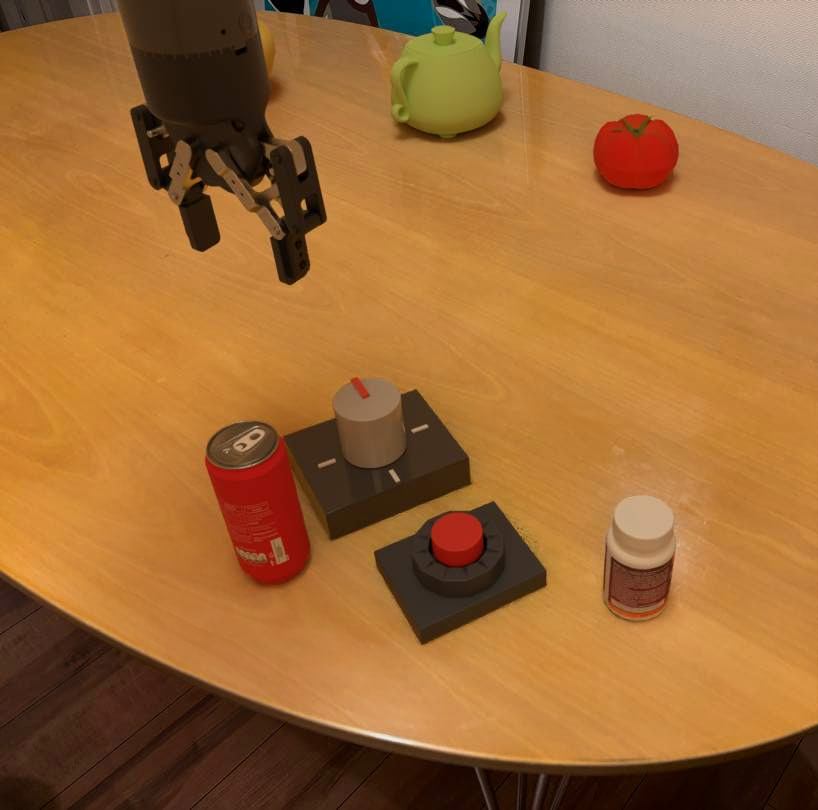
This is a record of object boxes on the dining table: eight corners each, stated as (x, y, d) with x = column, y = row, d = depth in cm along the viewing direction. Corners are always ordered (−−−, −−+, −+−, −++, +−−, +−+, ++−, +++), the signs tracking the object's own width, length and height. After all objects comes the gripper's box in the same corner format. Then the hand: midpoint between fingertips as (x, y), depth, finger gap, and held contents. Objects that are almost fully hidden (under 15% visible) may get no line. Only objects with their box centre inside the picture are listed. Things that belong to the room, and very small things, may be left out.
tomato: (623, 154, 120) (627, 100, 115) (691, 179, 114) (698, 122, 109) (573, 181, 113) (575, 125, 109) (642, 208, 108) (647, 150, 103)
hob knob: (417, 453, 70) (411, 403, 67) (356, 477, 68) (346, 426, 65) (391, 416, 74) (384, 366, 70) (332, 438, 72) (321, 387, 68)
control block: (421, 645, 60) (417, 614, 58) (376, 566, 66) (370, 534, 63) (547, 585, 64) (547, 554, 62) (494, 515, 70) (493, 483, 67)
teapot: (475, 85, 138) (471, -3, 130) (544, 112, 131) (545, 19, 122) (362, 127, 126) (350, 32, 118) (432, 158, 118) (423, 59, 110)
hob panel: (331, 541, 67) (324, 512, 65) (288, 462, 74) (281, 434, 72) (471, 483, 72) (469, 455, 70) (419, 414, 79) (416, 387, 77)
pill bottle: (680, 609, 63) (694, 530, 57) (620, 631, 61) (628, 552, 56) (648, 561, 66) (658, 482, 61) (591, 581, 65) (595, 501, 59)
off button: (446, 575, 61) (444, 558, 60) (424, 540, 63) (422, 524, 62) (492, 554, 62) (491, 538, 61) (469, 521, 65) (468, 505, 64)
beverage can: (226, 568, 65) (184, 450, 58) (279, 524, 69) (246, 407, 61) (275, 600, 63) (238, 482, 55) (327, 554, 66) (299, 436, 59)
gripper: (61, 24, 53) (139, 259, 64) (233, 68, 48) (288, 317, 58) (160, -7, 58) (217, 216, 68) (326, 29, 52) (361, 265, 63)
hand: (250, 262), depth 63 cm, fingers open, 8 cm apart
